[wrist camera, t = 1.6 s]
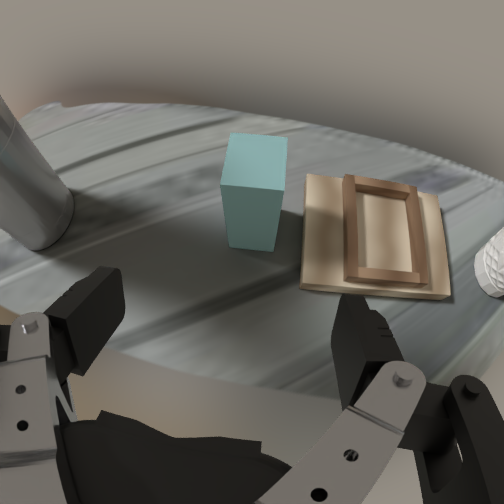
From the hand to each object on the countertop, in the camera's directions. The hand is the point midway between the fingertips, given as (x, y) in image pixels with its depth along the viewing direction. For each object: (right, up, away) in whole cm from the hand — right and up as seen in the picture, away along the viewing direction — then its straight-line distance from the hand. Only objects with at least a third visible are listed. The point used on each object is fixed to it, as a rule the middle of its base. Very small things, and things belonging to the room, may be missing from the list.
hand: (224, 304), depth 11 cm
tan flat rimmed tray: (+14, +3, +21) cm, 25 cm away
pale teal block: (+1, +4, +21) cm, 22 cm away
